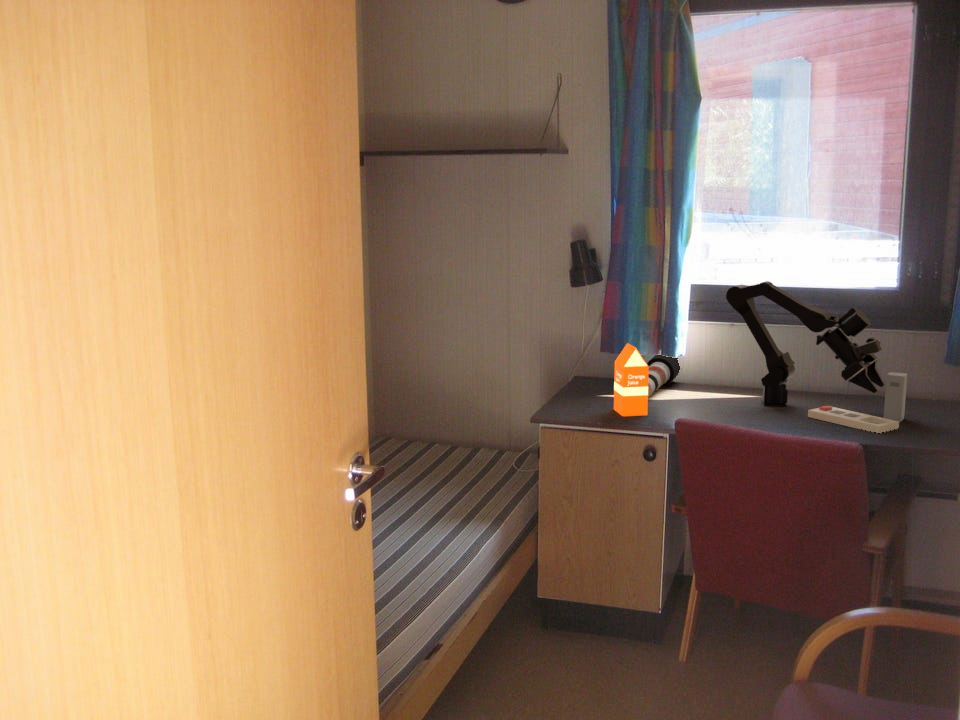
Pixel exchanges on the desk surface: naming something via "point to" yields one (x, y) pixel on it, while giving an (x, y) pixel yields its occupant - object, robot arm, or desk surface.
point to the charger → (895, 396)
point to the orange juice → (630, 383)
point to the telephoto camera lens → (661, 372)
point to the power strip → (853, 419)
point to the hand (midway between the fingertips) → (879, 389)
